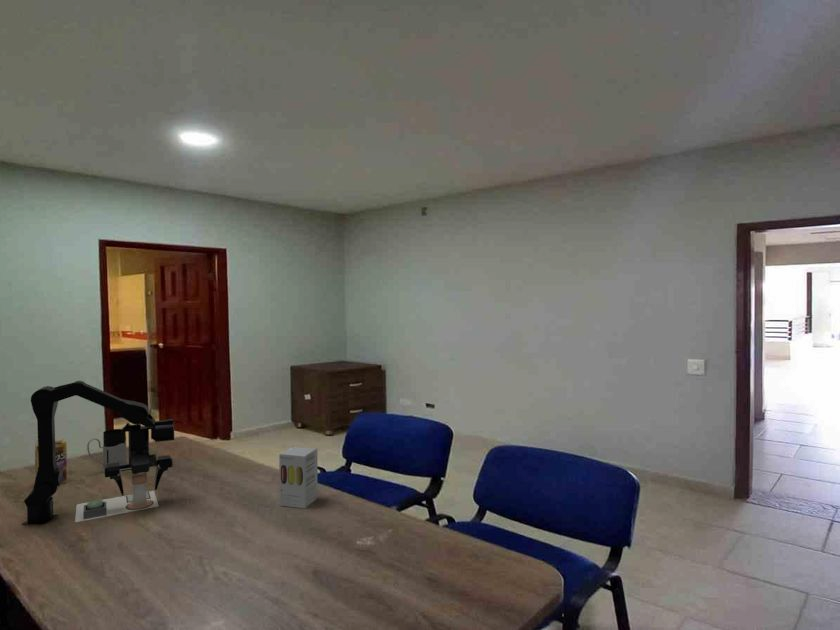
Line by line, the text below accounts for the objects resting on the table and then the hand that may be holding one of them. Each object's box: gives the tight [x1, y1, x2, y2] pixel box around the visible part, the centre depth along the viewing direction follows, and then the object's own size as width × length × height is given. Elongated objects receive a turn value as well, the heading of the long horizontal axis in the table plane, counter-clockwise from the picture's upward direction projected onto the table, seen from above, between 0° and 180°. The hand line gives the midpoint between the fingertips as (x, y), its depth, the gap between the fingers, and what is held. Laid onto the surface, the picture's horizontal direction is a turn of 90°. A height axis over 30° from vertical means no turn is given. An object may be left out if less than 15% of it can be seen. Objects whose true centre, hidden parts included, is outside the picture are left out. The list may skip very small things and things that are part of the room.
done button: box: [86, 499, 103, 510], centre depth 155 cm, size 4×4×2 cm
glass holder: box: [86, 428, 128, 474], centre depth 197 cm, size 9×14×15 cm, turn 148°
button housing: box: [83, 501, 106, 519], centre depth 155 cm, size 6×6×2 cm
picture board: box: [74, 490, 160, 523], centre depth 162 cm, size 22×16×1 cm
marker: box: [131, 472, 148, 507], centre depth 162 cm, size 4×4×10 cm
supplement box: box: [278, 446, 318, 509], centre depth 165 cm, size 10×9×17 cm
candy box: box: [34, 439, 68, 485], centre depth 182 cm, size 9×4×15 cm, turn 134°
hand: (139, 492), depth 162 cm, fingers open, 9 cm apart
